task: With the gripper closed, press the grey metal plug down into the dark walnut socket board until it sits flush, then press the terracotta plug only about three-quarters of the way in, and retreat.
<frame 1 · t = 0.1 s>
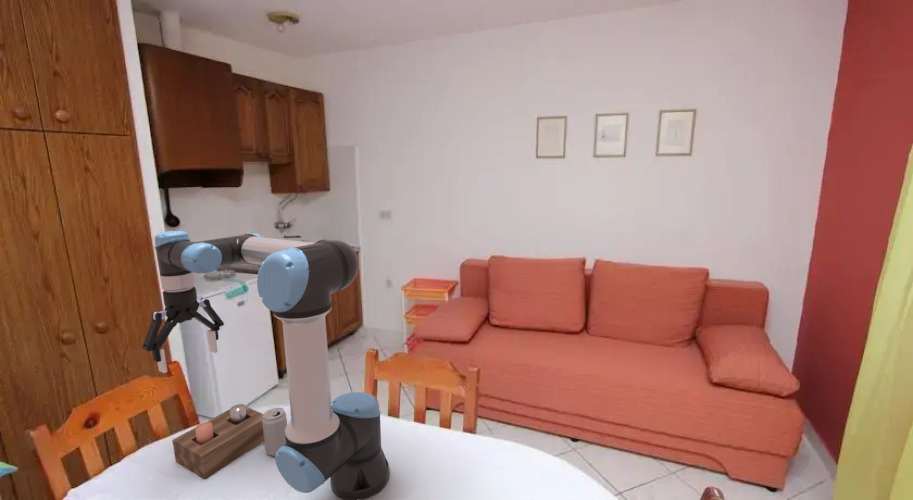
hand: (189, 361, 114), 28 cm above the table, fingers open, 13 cm apart
terracotta plug: (204, 435, 114), point 8 cm above the table, slide at 0.0 cm
socket board: (225, 448, 120), on the table
beverage can: (277, 450, 119), on the table
grey plug: (238, 416, 122), point 8 cm above the table, slide at 0.0 cm
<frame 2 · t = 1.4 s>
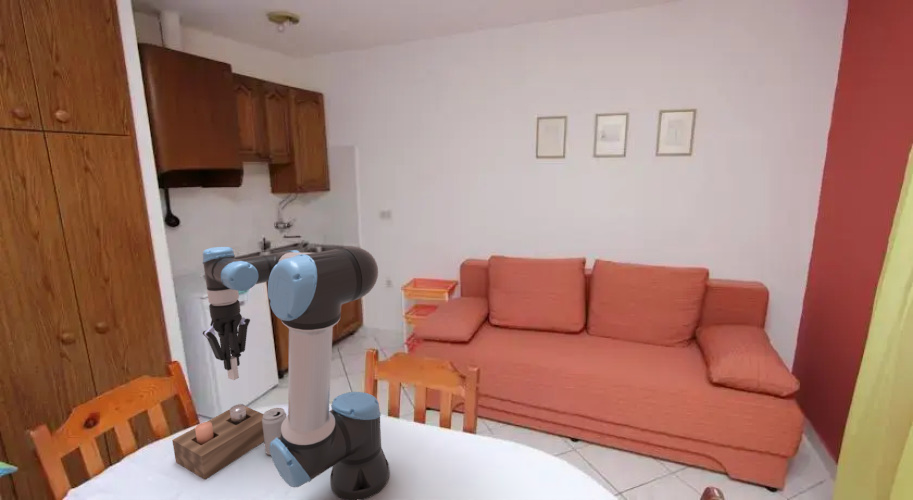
hand: (233, 377, 120), 20 cm above the table, fingers closed
nothing on the table moved.
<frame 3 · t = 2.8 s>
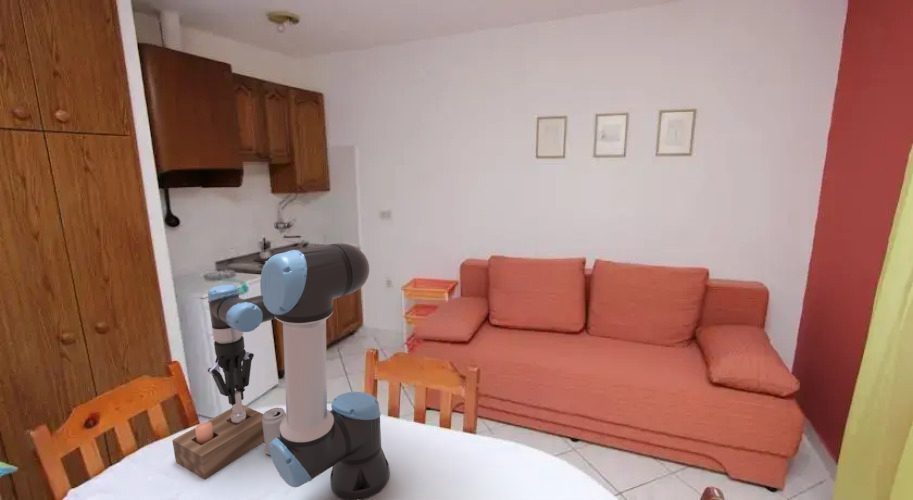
hand: (237, 411, 122), 9 cm above the table, fingers closed
grey plug: (239, 421, 123), point 6 cm above the table, slide at 1.6 cm, touching gripper
everything else where it was.
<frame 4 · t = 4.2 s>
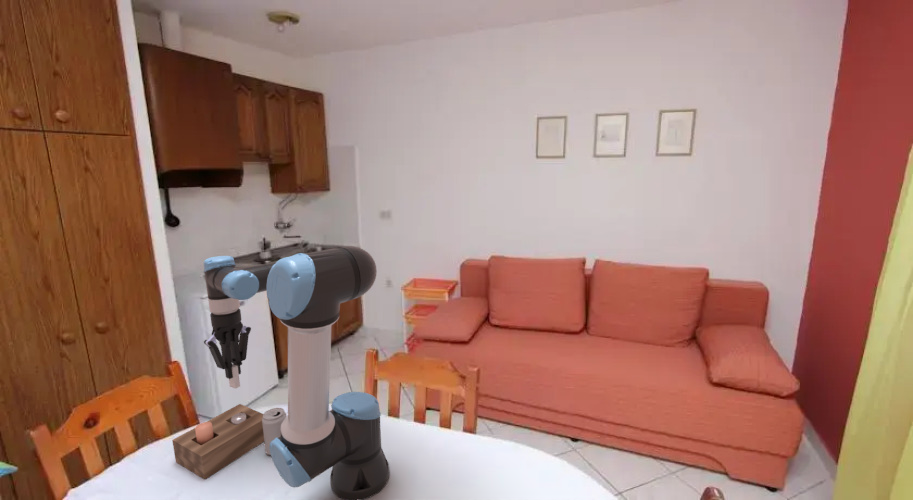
hand: (235, 386, 120), 18 cm above the table, fingers closed
grey plug: (239, 425, 123), point 5 cm above the table, slide at 3.0 cm
everything else where it was.
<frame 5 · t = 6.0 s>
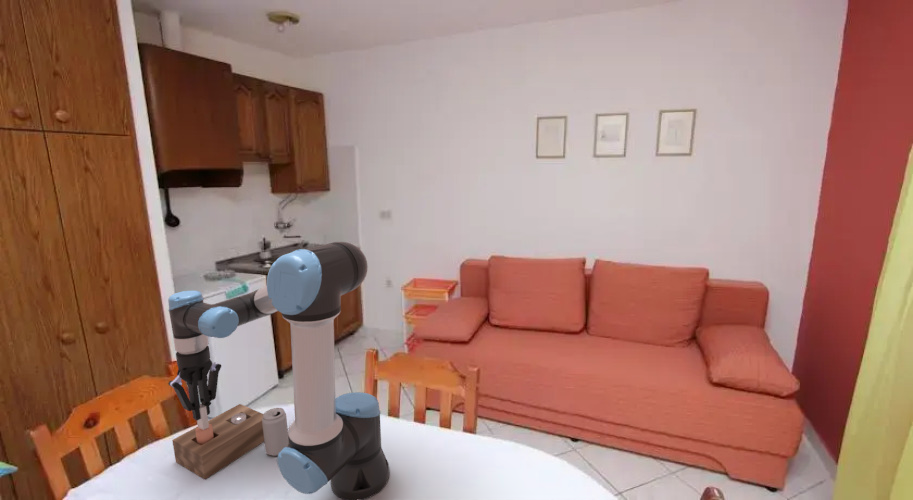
hand: (203, 427, 113), 10 cm above the table, fingers closed
terracotta plug: (205, 437, 114), point 7 cm above the table, slide at 0.7 cm, touching gripper
everything else where it was.
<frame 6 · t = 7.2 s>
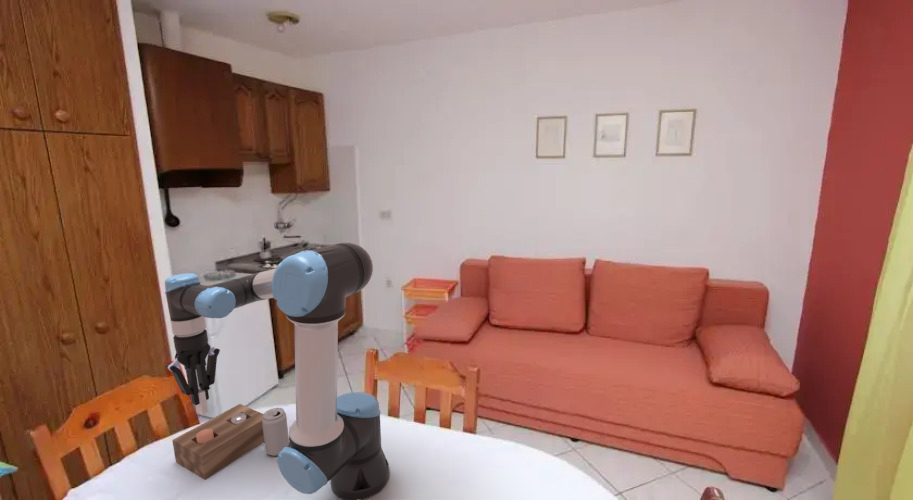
hand: (202, 412, 112), 15 cm above the table, fingers closed
terracotta plug: (205, 442, 114), point 5 cm above the table, slide at 2.2 cm
everything else where it was.
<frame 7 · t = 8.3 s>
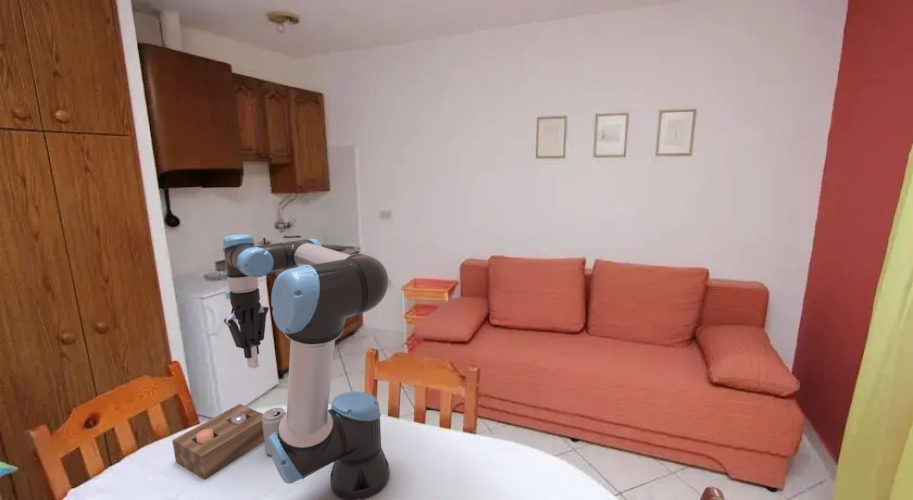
hand: (253, 366, 120), 24 cm above the table, fingers closed
nothing on the table moved.
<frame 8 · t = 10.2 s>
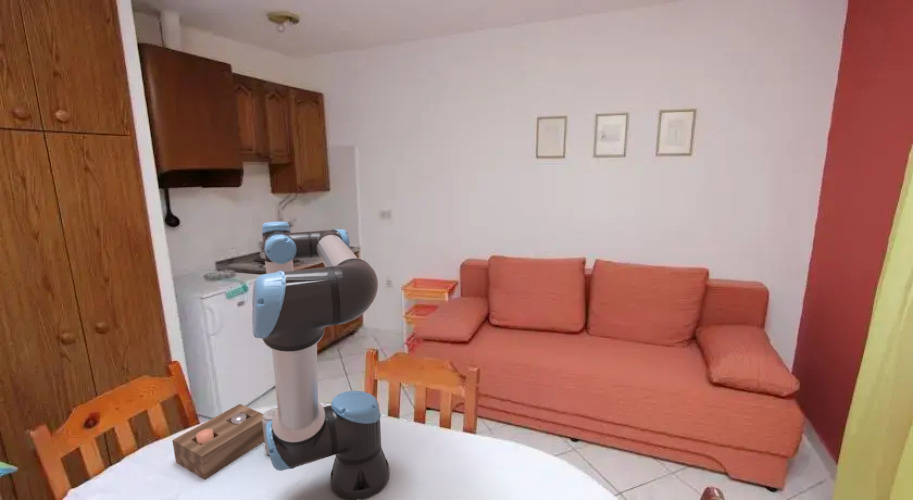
hand: (287, 347, 126), 26 cm above the table, fingers closed
nothing on the table moved.
at the end: grey plug slide at 3.0 cm; terracotta plug slide at 2.2 cm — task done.
